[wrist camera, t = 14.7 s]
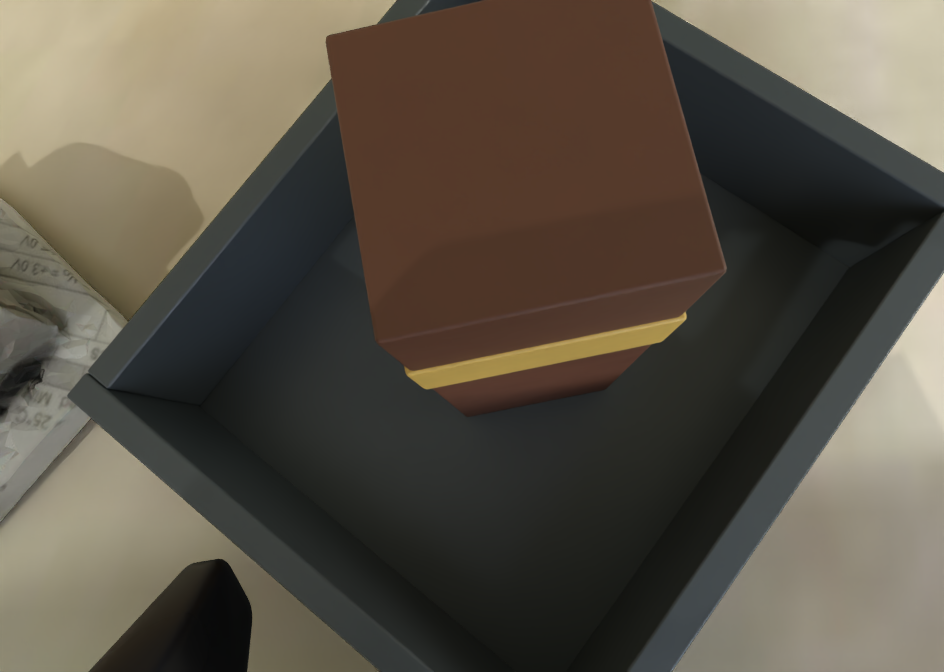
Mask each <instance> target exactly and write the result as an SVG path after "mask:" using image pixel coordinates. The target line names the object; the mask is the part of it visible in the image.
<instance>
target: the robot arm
mask: <svg viewBox="0 0 944 672" xmlns="http://www.w3.org/2000/svg"><path fill="white" fill-rule="evenodd" d="M251 628H252V610H251V605H250V602H249V600H248V598H247V596H246V594H245V592H244V590H243V589H242V587H241V585H240V583H239V581H238V579H237V578H236V576H235V574H234V572H233V570H232V569H231V567H230V565H229V564H228V563H227V562H226V561H224V560H223V559H215V560H209V561H203V562H197V563H193V564H190V565H189V566H187V567H186V568H185V569H184V570H183V571H182V572H181V573H180V574H179V575H178V576H177V577H176V578H175V579H174V580H173V581H172V582H171V583H170V585H169V586H168V587H167V588H166V589H165V590H164V591H163V592H162V593H161V594H160V595H159V596H158V597H157V599H156V600H155V601H154V602H153V603H152V604H151V605H150V606H149V607H148V608H147V609H146V610H145V611H144V613H143V614H142V615H141V616H140V617H139V618H138V619H137V620H136V621H135V622H134V623H133V624H132V625H131V627H130V628H129V629H128V630H127V631H126V632H125V633H124V634H123V635H122V636H121V637H120V638H119V640H118V641H117V642H116V643H115V644H114V645H113V646H112V647H111V648H110V649H109V650H108V651H107V652H106V654H105V655H104V656H103V657H102V658H101V659H100V660H99V661H98V662H97V663H96V664H95V665H94V666H93V668H92V669H91V670H90V671H89V672H247V668H248V658H249V648H250V638H251Z"/></svg>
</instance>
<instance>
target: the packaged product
mask: <svg viewBox="0 0 944 672" xmlns="http://www.w3.org/2000/svg"><path fill="white" fill-rule="evenodd" d="M127 323H128V321H127V320H126V319H125V318H124V317H123V316H122V315H121V314H120V313H119V312H118V311H117V310H116V309H115V308H114V307H113V306H112V305H111V304H110V303H108V302H107V301H106V300H105V299H104V298H103V297H102V296H101V295H100V294H99V293H97V292H96V291H95V290H94V289H93V288H92V287H91V286H90V285H89V284H88V283H86V282H85V281H84V280H83V278H82V277H81V276H80V275H79V274H78V273H77V272H76V271H75V270H74V269H73V268H72V267H71V266H70V265H69V264H68V263H67V262H66V261H65V260H64V259H63V258H62V257H61V256H60V255H59V254H58V253H57V252H56V251H55V250H54V249H53V248H52V247H51V246H50V245H49V244H48V243H47V242H46V241H45V240H44V239H43V238H42V237H41V236H40V235H39V234H38V233H37V232H36V231H35V229H34V228H33V227H32V226H31V225H30V224H29V223H28V222H27V221H26V220H25V219H24V218H23V217H22V216H21V215H20V214H19V213H18V212H17V211H16V210H15V209H14V208H13V207H11V206H10V205H9V204H7V203H6V202H5V201H4V200H2V199H1V198H0V522H1V521H2V520H3V519H4V517H5V516H6V515H7V514H8V513H9V512H10V510H11V509H12V508H13V507H14V506H15V504H16V503H17V502H18V501H19V500H20V498H21V497H22V496H23V495H24V494H25V492H26V491H27V490H28V489H29V488H30V487H31V486H32V485H33V483H34V482H35V481H36V480H37V479H38V478H39V477H40V475H41V474H42V473H43V472H44V471H45V470H46V469H47V468H48V466H49V465H50V464H51V463H52V462H53V461H54V460H55V459H56V457H57V456H58V455H59V454H60V453H61V452H62V451H63V450H64V448H65V447H66V446H67V445H68V444H69V443H70V442H71V440H72V439H73V438H74V437H75V436H76V435H77V434H78V433H79V431H80V430H81V429H82V428H83V427H84V426H85V425H86V424H87V422H88V421H89V420H90V419H91V418H90V417H89V416H88V415H87V414H86V413H85V412H83V411H82V410H81V409H80V408H79V407H78V406H77V405H75V404H74V403H73V402H72V401H71V400H70V399H69V398H68V397H67V394H68V393H69V392H70V391H71V390H72V388H73V387H74V386H75V385H76V384H77V382H78V381H79V380H80V379H81V378H82V376H83V375H84V374H86V373H89V372H88V369H89V368H90V367H91V366H92V365H93V363H94V362H95V361H96V360H97V359H98V357H99V356H100V355H101V354H102V353H103V351H104V350H105V349H106V348H107V347H108V345H109V344H110V343H111V342H112V341H113V339H114V338H115V337H116V336H117V335H118V333H119V332H120V331H121V330H122V329H123V327H124V326H125V325H126V324H127Z"/></svg>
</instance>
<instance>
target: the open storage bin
mask: <svg viewBox="0 0 944 672" xmlns="http://www.w3.org/2000/svg"><path fill="white" fill-rule="evenodd" d="M478 1H483V0H397V1H396V2H395V3H394V4H393V6H392V7H391V8H390V9H389V10H388V12H387V13H386V14H385V15H384V16H383V18H382V19H381V20H380V21H379V22H378V24H381V23H385V22H390V21H394V20H399V19H403V18H408V17H412V16H416V15H421V14H425V13H430V12H434V11H438V10H443V9H447V8H452V7H456V6H461V5H465V4H469V3H474V2H478ZM651 2H652V1H651ZM652 5H653V9H654V12H655V16H656V19H657V23H658V26H659V30H660V33H661V37H662V41H663V44H664V48H665V51H666V55H667V58H668V62H669V65H670V69H671V72H672V76H673V79H674V83H675V87H676V90H677V94H678V97H679V101H680V104H681V108H682V111H683V115H684V118H685V122H686V125H687V129H688V133H689V136H690V140H691V143H692V147H693V150H694V154H695V157H696V161H697V164H698V168H699V171H700V175H701V179H702V182H703V186H704V189H705V193H706V196H707V200H708V203H709V207H710V210H711V214H712V217H713V221H714V225H715V228H716V232H717V235H718V239H719V242H720V246H721V249H722V253H723V256H724V260H725V263H726V267H727V269H726V273H725V274H723V275H722V276H721V277H720V278H719V279H718V280H717V281H716V282H715V283H714V284H713V285H712V286H711V287H710V288H709V289H708V290H707V291H706V292H705V293H704V294H703V295H702V296H701V297H700V298H699V299H698V300H697V301H696V302H695V303H694V304H693V305H692V306H691V307H690V308H689V309H688V310H687V311H686V315H687V317H686V320H685V321H684V322H683V323H682V324H681V325H680V326H678V327H677V328H676V329H675V330H674V331H673V332H672V333H671V334H670V335H669V336H668V337H667V338H665V339H664V340H663V341H662V342H659V343H654V344H652V345H651V346H650V347H649V348H648V349H646V350H645V351H644V352H643V353H642V354H641V355H640V356H639V357H638V358H637V359H636V360H635V361H634V362H633V363H632V364H631V365H630V366H629V367H628V368H627V369H626V370H625V371H624V372H623V373H622V374H621V375H620V376H619V377H618V378H617V379H616V380H615V381H614V382H613V383H612V384H611V385H610V386H609V387H607V388H606V389H605V390H601V391H596V392H591V393H586V394H581V395H576V396H571V397H566V398H561V399H556V400H551V401H546V402H541V403H536V404H531V405H526V406H521V407H516V408H511V409H506V410H501V411H496V412H491V413H486V414H481V415H476V416H471V417H466V416H465V415H464V414H463V413H461V412H460V411H459V410H458V409H457V408H455V407H454V406H453V405H452V404H450V403H449V402H448V401H447V400H445V399H444V398H443V397H442V396H441V395H439V394H438V393H437V392H436V391H434V390H433V389H424V388H422V387H421V386H420V385H418V384H417V383H416V382H414V381H413V380H412V379H410V378H409V377H408V376H407V375H406V373H405V368H404V365H403V364H401V363H400V362H399V361H398V360H397V359H395V358H394V357H393V356H392V355H390V354H389V353H388V352H387V351H386V350H384V349H383V348H382V347H381V346H379V345H378V344H377V342H376V341H375V337H374V331H373V325H372V319H371V313H370V307H369V301H368V295H367V289H366V283H365V277H364V271H363V265H362V259H361V252H360V246H359V240H358V234H357V228H356V222H355V216H354V210H353V204H352V198H351V192H350V186H349V180H348V174H347V168H346V162H345V156H344V150H343V144H342V138H341V132H340V126H339V119H338V113H337V107H336V101H335V95H334V89H333V83H332V79H331V80H330V81H329V82H328V83H327V85H326V86H325V87H324V88H323V89H322V91H321V92H320V93H319V94H318V95H317V97H316V98H315V99H314V100H313V101H312V102H311V104H310V105H309V106H308V107H307V108H306V110H305V111H304V112H303V113H302V114H301V116H300V117H299V118H298V119H297V120H296V122H295V123H294V124H293V125H292V126H291V128H290V129H289V130H288V131H287V132H286V134H285V135H284V136H283V137H282V138H281V140H280V141H279V142H278V143H277V144H276V146H275V147H274V148H273V149H272V150H271V152H270V153H269V154H268V155H267V156H266V158H265V159H264V160H263V161H262V162H261V164H260V165H259V166H258V167H257V168H256V170H255V171H254V172H253V173H252V174H251V175H250V177H249V178H248V179H247V180H246V181H245V183H244V184H243V185H242V186H241V187H240V189H239V190H238V191H237V192H236V193H235V195H234V196H233V197H232V198H231V199H230V201H229V202H228V203H227V204H226V205H225V207H224V208H223V209H222V210H221V211H220V213H219V214H218V215H217V216H216V217H215V219H214V220H213V221H212V222H211V223H210V225H209V226H208V227H207V228H206V229H205V231H204V232H203V233H202V234H201V235H200V237H199V238H198V239H197V240H196V241H195V243H194V244H193V245H192V246H191V247H190V248H189V250H188V251H187V252H186V253H185V254H184V256H183V257H182V258H181V259H180V260H179V262H178V263H177V264H176V265H175V266H174V268H173V269H172V270H171V271H170V272H169V274H168V275H167V276H166V277H165V278H164V280H163V281H162V282H161V283H160V284H159V286H158V287H157V288H156V289H155V290H154V292H153V293H152V294H151V295H150V296H149V298H148V299H147V300H146V301H145V302H144V304H143V305H142V306H141V307H140V308H139V310H138V311H137V312H136V313H135V314H134V315H133V317H132V318H131V319H130V320H129V321H128V323H127V324H126V325H125V326H124V327H123V329H122V330H121V331H120V332H119V333H118V335H117V336H116V337H115V338H114V339H113V341H112V342H111V343H110V344H109V345H108V347H107V348H106V349H105V350H104V351H103V353H102V354H101V355H100V356H99V357H98V359H97V360H96V361H95V362H94V363H93V365H92V366H91V367H90V368H89V369H88V372H89V373H86V374H84V375H83V376H82V378H81V379H80V380H79V381H78V382H77V384H76V385H75V386H74V387H73V388H72V390H71V391H70V392H69V393H68V394H67V397H68V398H69V399H70V400H71V401H72V402H73V403H74V404H75V405H77V406H78V407H79V408H80V409H81V410H82V411H83V412H85V413H86V414H87V415H88V416H89V417H90V418H91V419H93V420H94V421H95V422H96V423H97V424H98V425H99V426H101V427H102V428H103V429H104V430H105V431H106V432H107V433H109V434H110V435H111V436H112V437H113V438H114V439H115V440H117V441H118V442H119V443H120V444H121V445H122V446H123V447H124V448H126V449H127V450H128V451H129V452H130V453H131V454H132V455H134V456H135V457H136V458H137V459H138V460H139V461H140V462H142V463H143V464H144V465H145V466H146V467H147V468H148V469H150V470H151V471H152V472H153V473H154V474H155V475H156V476H158V477H159V478H160V479H161V480H162V481H163V482H164V483H166V484H167V485H168V486H169V487H170V488H171V489H172V490H174V491H175V492H176V493H177V494H178V495H179V496H180V497H182V498H183V499H184V500H185V501H186V502H187V503H188V504H190V505H191V506H192V507H193V508H194V509H195V510H196V511H198V512H199V513H200V514H201V515H202V516H203V517H204V518H206V519H207V520H208V521H209V522H210V523H211V524H212V525H214V526H215V527H216V528H217V529H218V530H219V531H220V532H222V533H223V534H224V535H225V536H226V537H227V538H228V539H229V540H231V541H232V542H233V543H234V544H235V545H236V546H237V547H239V548H240V549H241V550H242V551H243V552H244V553H245V554H247V555H248V556H249V557H250V558H251V559H252V560H253V561H255V562H256V563H257V564H258V565H259V566H260V567H261V568H263V569H264V570H265V571H266V572H267V573H268V574H269V575H271V576H272V577H273V578H274V579H275V580H276V581H277V582H279V583H280V584H281V585H282V586H283V587H284V588H285V589H287V590H288V591H289V592H290V593H291V594H292V595H293V596H295V597H296V598H297V599H298V600H299V601H300V602H301V603H303V604H304V605H305V606H306V607H307V608H308V609H309V610H311V611H312V612H313V613H314V614H315V615H316V616H317V617H319V618H320V619H321V620H322V621H323V622H324V623H325V624H327V625H328V626H329V627H330V628H331V629H332V630H333V631H335V632H336V633H337V634H338V635H339V636H340V637H341V638H342V639H344V640H345V641H346V642H347V643H348V644H349V645H350V646H352V647H353V648H354V649H355V650H356V651H357V652H358V653H360V654H361V655H362V656H363V657H364V658H365V659H366V660H368V661H369V662H370V663H371V664H372V665H373V666H374V667H376V668H377V669H378V670H379V671H380V672H672V671H673V670H674V668H675V667H676V665H677V664H678V662H679V661H680V659H681V658H682V656H683V655H684V653H685V652H686V650H687V649H688V647H689V646H690V645H691V643H692V642H693V640H694V639H695V637H696V636H697V634H698V633H699V631H700V630H701V628H702V627H703V625H704V624H705V623H706V621H707V620H708V618H709V617H710V615H711V614H712V612H713V611H714V609H715V608H716V606H717V605H718V603H719V602H720V601H721V599H722V598H723V596H724V595H725V593H726V592H727V590H728V589H729V587H730V586H731V584H732V583H733V581H734V580H735V578H736V577H737V576H738V574H739V573H740V571H741V570H742V568H743V567H744V565H745V564H746V562H747V561H748V559H749V558H750V556H751V555H752V554H753V552H754V551H755V549H756V548H757V546H758V545H759V543H760V542H761V540H762V539H763V537H764V536H765V534H766V533H767V532H768V530H769V529H770V527H771V526H772V524H773V523H774V521H775V520H776V518H777V517H778V515H779V514H780V512H781V511H782V509H783V508H784V507H785V505H786V504H787V502H788V501H789V499H790V498H791V496H792V495H793V493H794V492H795V490H796V489H797V487H798V486H799V485H800V483H801V482H802V480H803V479H804V477H805V476H806V474H807V473H808V471H809V470H810V468H811V467H812V465H813V464H814V463H815V461H816V460H817V458H818V457H819V455H820V454H821V452H822V451H823V449H824V448H825V446H826V445H827V443H828V442H829V440H830V439H831V438H832V436H833V435H834V433H835V432H836V430H837V429H838V427H839V426H840V424H841V423H842V421H843V420H844V418H845V417H846V416H847V414H848V413H849V411H850V410H851V408H852V407H853V405H854V404H855V402H856V401H857V399H858V398H859V396H860V395H861V394H862V392H863V391H864V389H865V388H866V386H867V385H868V383H869V382H870V380H871V379H872V377H873V376H874V374H875V373H876V371H877V370H878V369H879V367H880V366H881V364H882V363H883V361H884V360H885V358H886V357H887V355H888V354H889V352H890V351H891V349H892V348H893V347H894V345H895V344H896V342H897V341H898V339H899V338H900V336H901V335H902V333H903V332H904V330H905V329H906V327H907V326H908V325H909V323H910V322H911V320H912V319H913V317H914V316H915V314H916V313H917V311H918V310H919V308H920V307H921V305H922V304H923V303H924V301H925V300H926V298H927V297H928V295H929V294H930V292H931V291H932V289H933V288H934V286H935V285H936V283H937V282H938V280H939V279H940V278H941V276H942V275H943V273H944V173H943V172H942V171H940V170H938V169H936V168H935V167H933V166H931V165H930V164H928V163H926V162H925V161H923V160H921V159H919V158H918V157H916V156H914V155H913V154H911V153H909V152H908V151H906V150H904V149H902V148H901V147H899V146H897V145H896V144H894V143H892V142H891V141H889V140H887V139H885V138H884V137H882V136H880V135H879V134H877V133H875V132H873V131H872V130H870V129H868V128H867V127H865V126H863V125H862V124H860V123H858V122H856V121H855V120H853V119H851V118H850V117H848V116H846V115H845V114H843V113H841V112H839V111H838V110H836V109H834V108H833V107H831V106H829V105H828V104H826V103H824V102H822V101H821V100H819V99H817V98H816V97H814V96H812V95H811V94H809V93H807V92H805V91H804V90H802V89H800V88H799V87H797V86H795V85H793V84H792V83H790V82H788V81H787V80H785V79H783V78H782V77H780V76H778V75H776V74H775V73H773V72H771V71H770V70H768V69H766V68H765V67H763V66H761V65H759V64H758V63H756V62H754V61H753V60H751V59H749V58H748V57H746V56H744V55H742V54H741V53H739V52H737V51H736V50H734V49H732V48H731V47H729V46H727V45H725V44H724V43H722V42H720V41H719V40H717V39H715V38H714V37H712V36H710V35H708V34H707V33H705V32H703V31H702V30H700V29H698V28H696V27H695V26H693V25H691V24H690V23H688V22H686V21H685V20H683V19H681V18H679V17H678V16H676V15H674V14H673V13H671V12H669V11H668V10H666V9H664V8H662V7H661V6H659V5H657V4H656V3H654V2H652Z"/></svg>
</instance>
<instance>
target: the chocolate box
mask: <svg viewBox="0 0 944 672" xmlns="http://www.w3.org/2000/svg"><path fill="white" fill-rule="evenodd" d="M326 47H327V53H328V59H329V65H330V71H331V77H332V83H333V89H334V95H335V101H336V107H337V113H338V119H339V126H340V132H341V138H342V144H343V150H344V156H345V162H346V168H347V174H348V180H349V186H350V192H351V198H352V204H353V210H354V216H355V222H356V228H357V234H358V240H359V246H360V252H361V259H362V265H363V271H364V277H365V283H366V289H367V295H368V301H369V307H370V313H371V319H372V325H373V331H374V337H375V341H376V342H377V344H378V345H379V346H381V347H382V348H383V349H384V350H386V351H387V352H388V353H389V354H390V355H392V356H393V357H394V358H395V359H397V360H398V361H399V362H400V363H401V364H403V365H404V368H405V373H406V375H407V376H408V377H409V378H410V379H412V380H413V381H414V382H416V383H417V384H418V385H420V386H421V387H422V388H424V389H433V390H434V391H436V392H437V393H438V394H439V395H441V396H442V397H443V398H444V399H445V400H447V401H448V402H449V403H450V404H452V405H453V406H454V407H455V408H457V409H458V410H459V411H460V412H461V413H463V414H464V415H465V416H466V417H471V416H476V415H481V414H486V413H491V412H496V411H501V410H506V409H511V408H516V407H521V406H526V405H531V404H536V403H541V402H546V401H551V400H556V399H561V398H566V397H571V396H576V395H581V394H586V393H591V392H596V391H601V390H605V389H606V388H607V387H609V386H610V385H611V384H612V383H613V382H614V381H615V380H616V379H617V378H618V377H619V376H620V375H621V374H622V373H623V372H624V371H625V370H626V369H627V368H628V367H629V366H630V365H631V364H632V363H633V362H634V361H635V360H636V359H637V358H638V357H639V356H640V355H641V354H642V353H643V352H644V351H645V350H646V349H648V348H649V347H650V346H651V345H652V344H654V343H659V342H662V341H663V340H664V339H665V338H667V337H668V336H669V335H670V334H671V333H672V332H673V331H674V330H675V329H676V328H677V327H678V326H680V325H681V324H682V323H683V322H684V321H685V320H686V317H687V315H686V311H687V310H688V309H689V308H690V307H691V306H692V305H693V304H694V303H695V302H696V301H697V300H698V299H699V298H700V297H701V296H702V295H703V294H704V293H705V292H706V291H707V290H708V289H709V288H710V287H711V286H712V285H713V284H714V283H715V282H716V281H717V280H718V279H719V278H720V277H721V276H722V275H723V274H725V273H726V269H727V267H726V263H725V260H724V256H723V253H722V249H721V246H720V242H719V239H718V235H717V232H716V228H715V225H714V221H713V217H712V214H711V210H710V207H709V203H708V200H707V196H706V193H705V189H704V186H703V182H702V179H701V175H700V171H699V168H698V164H697V161H696V157H695V154H694V150H693V147H692V143H691V140H690V136H689V133H688V129H687V125H686V122H685V118H684V115H683V111H682V108H681V104H680V101H679V97H678V94H677V90H676V87H675V83H674V79H673V76H672V72H671V69H670V65H669V62H668V58H667V55H666V51H665V48H664V44H663V41H662V37H661V33H660V30H659V26H658V23H657V19H656V16H655V12H654V9H653V5H652V2H651V0H483V1H478V2H474V3H469V4H465V5H461V6H456V7H452V8H447V9H443V10H438V11H434V12H430V13H425V14H421V15H416V16H412V17H408V18H403V19H399V20H394V21H390V22H385V23H381V24H377V25H372V26H368V27H363V28H359V29H354V30H350V31H346V32H341V33H337V34H332V35H329V36H327V37H326Z"/></svg>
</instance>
